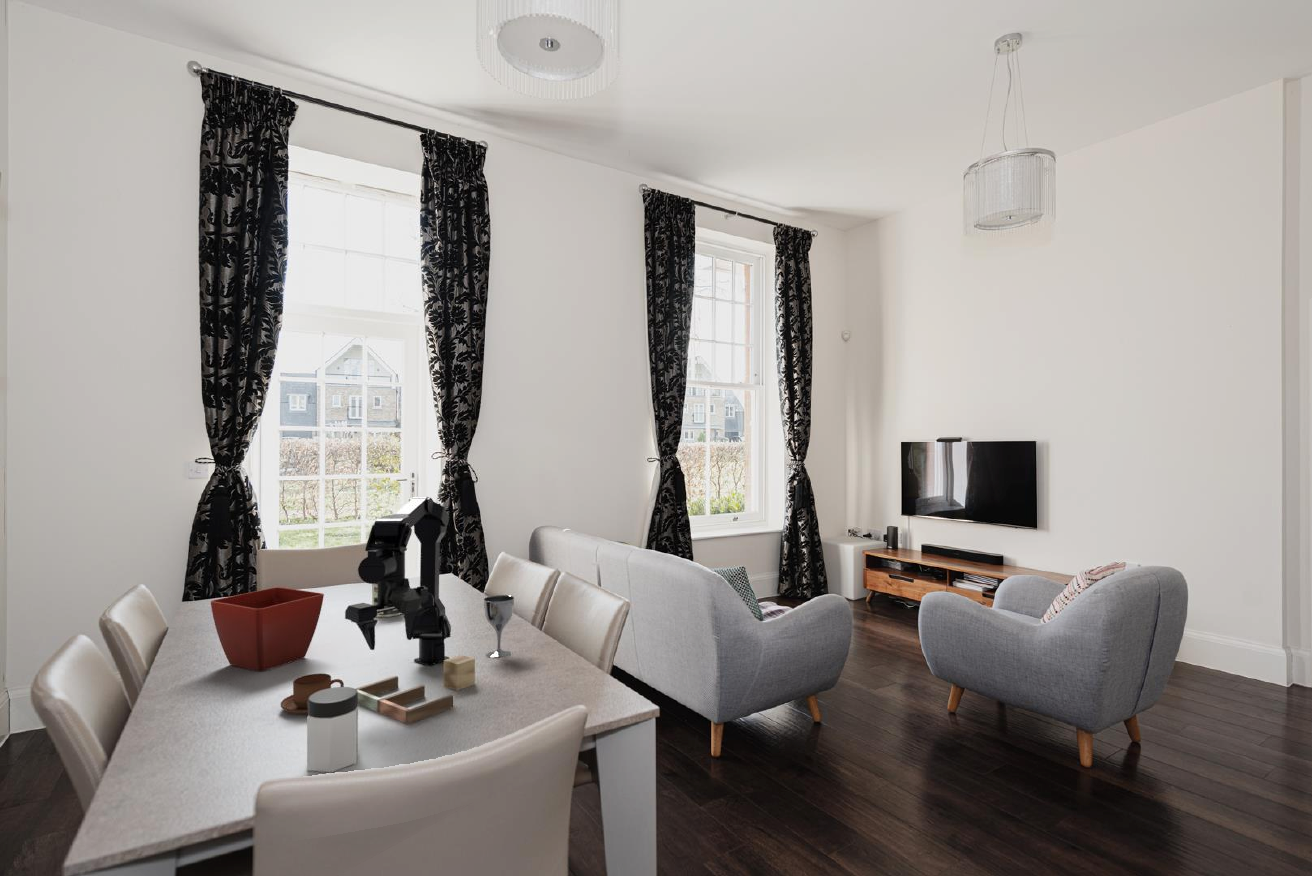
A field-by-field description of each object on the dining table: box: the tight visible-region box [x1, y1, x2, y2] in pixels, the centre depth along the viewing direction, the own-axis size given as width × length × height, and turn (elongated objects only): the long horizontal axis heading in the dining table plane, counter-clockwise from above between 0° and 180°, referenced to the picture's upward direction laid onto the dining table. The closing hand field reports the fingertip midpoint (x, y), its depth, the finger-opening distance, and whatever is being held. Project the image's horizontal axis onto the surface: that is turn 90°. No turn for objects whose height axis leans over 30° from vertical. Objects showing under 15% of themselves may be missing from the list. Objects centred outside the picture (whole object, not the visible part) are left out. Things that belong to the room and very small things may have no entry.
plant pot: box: [210, 586, 325, 672], centre depth 178 cm, size 19×19×17 cm
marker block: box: [443, 654, 476, 691], centre depth 161 cm, size 5×5×6 cm
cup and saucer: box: [280, 672, 345, 715], centre depth 147 cm, size 12×12×6 cm
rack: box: [355, 675, 454, 725], centre depth 149 cm, size 21×11×2 cm, turn 54°
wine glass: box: [483, 594, 515, 659], centre depth 184 cm, size 8×8×15 cm
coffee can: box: [371, 584, 403, 618], centre depth 227 cm, size 10×10×14 cm
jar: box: [306, 686, 359, 773], centre depth 122 cm, size 9×8×12 cm
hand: (391, 644), depth 152 cm, fingers open, 9 cm apart
